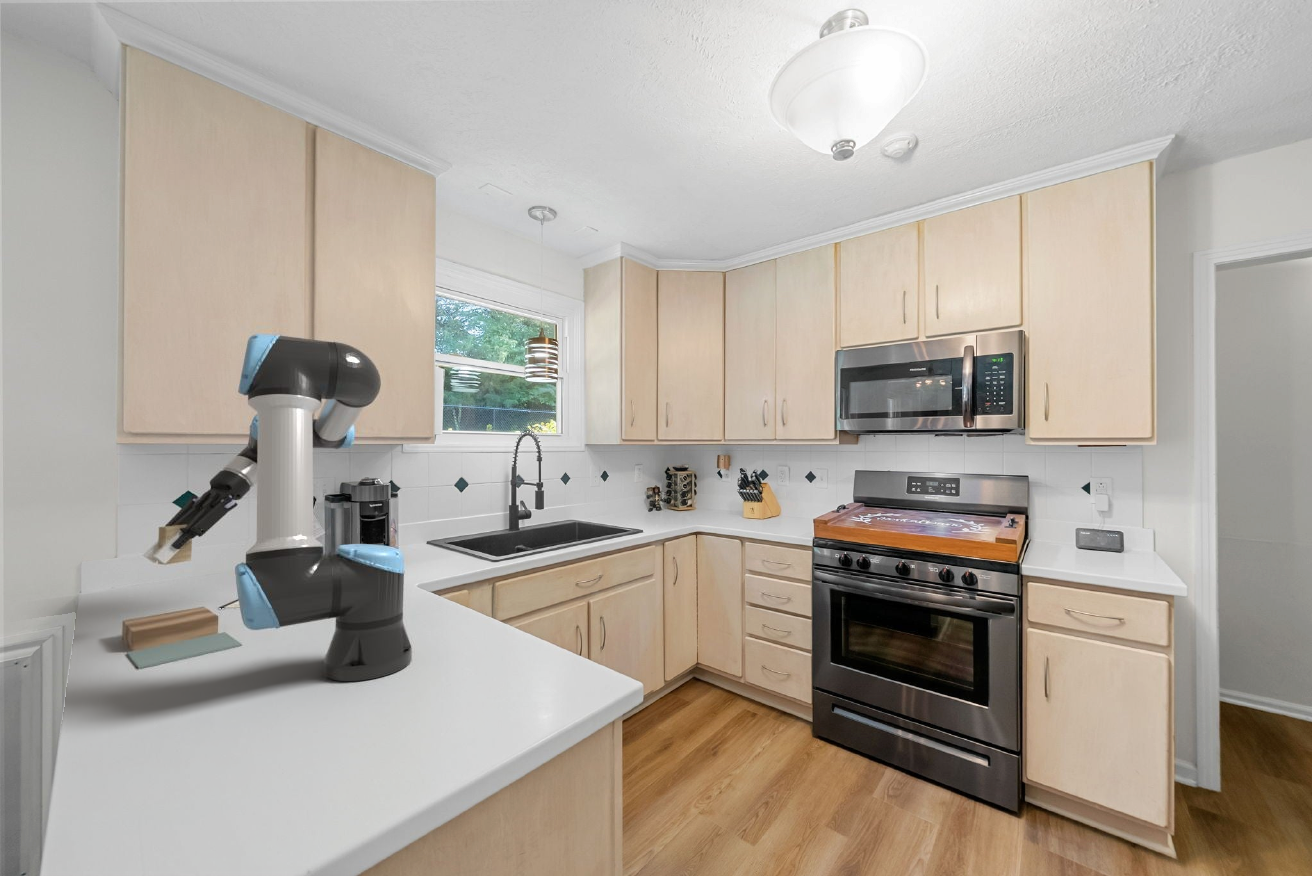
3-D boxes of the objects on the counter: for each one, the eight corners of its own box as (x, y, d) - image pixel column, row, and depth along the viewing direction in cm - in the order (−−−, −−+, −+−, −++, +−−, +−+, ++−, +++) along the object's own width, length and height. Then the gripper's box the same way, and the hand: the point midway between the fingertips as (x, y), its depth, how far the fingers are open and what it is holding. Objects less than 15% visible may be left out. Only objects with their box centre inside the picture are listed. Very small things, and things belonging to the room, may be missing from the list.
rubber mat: (241, 645, 115) (241, 643, 115) (138, 669, 102) (138, 666, 102) (224, 633, 122) (224, 631, 122) (126, 654, 110) (126, 652, 110)
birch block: (191, 560, 122) (192, 524, 122) (165, 564, 117) (166, 527, 118) (183, 559, 123) (184, 524, 123) (157, 563, 118) (158, 527, 118)
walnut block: (217, 633, 122) (218, 616, 122) (132, 651, 111) (133, 632, 111) (203, 623, 129) (203, 606, 130) (122, 638, 118) (122, 620, 119)
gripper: (270, 490, 133) (192, 571, 116) (225, 488, 137) (144, 567, 121) (248, 468, 128) (164, 551, 112) (202, 468, 133) (115, 547, 116)
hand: (154, 559), depth 116 cm, fingers closed on birch block, 2 cm apart
